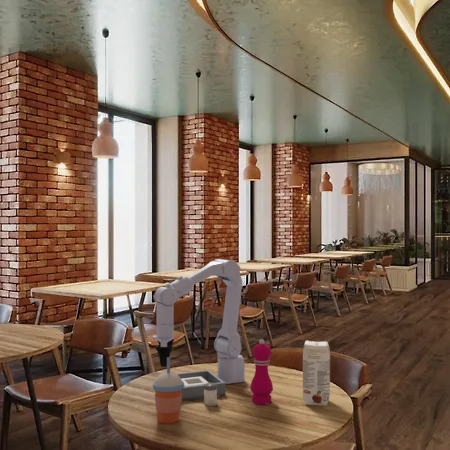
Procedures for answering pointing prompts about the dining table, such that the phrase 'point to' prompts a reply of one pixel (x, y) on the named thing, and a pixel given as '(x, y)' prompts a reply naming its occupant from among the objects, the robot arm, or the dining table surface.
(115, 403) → the dining table surface
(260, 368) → the pepper mill
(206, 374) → the walled box
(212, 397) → the connector peg
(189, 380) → the inlet socket
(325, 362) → the juice carton
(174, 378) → the cup with straw
